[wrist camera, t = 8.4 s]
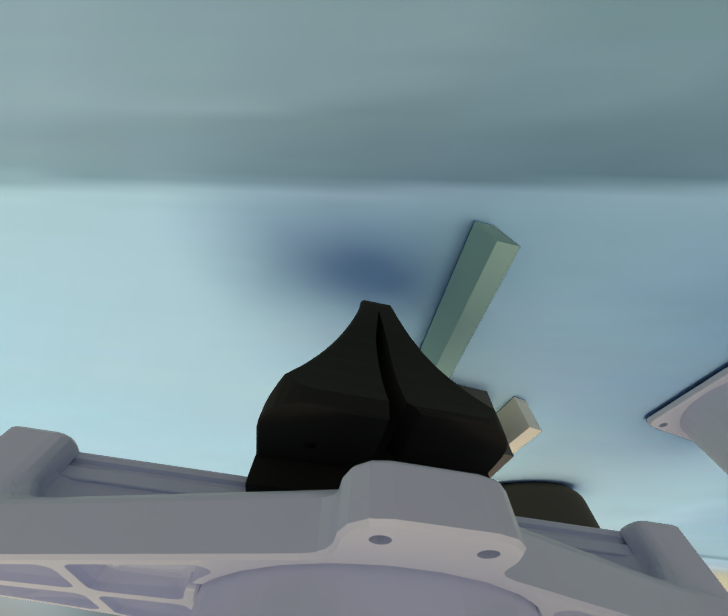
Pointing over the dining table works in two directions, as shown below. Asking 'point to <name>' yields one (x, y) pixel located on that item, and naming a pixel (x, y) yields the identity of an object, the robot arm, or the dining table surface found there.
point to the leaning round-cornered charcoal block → (549, 503)
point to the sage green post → (468, 294)
